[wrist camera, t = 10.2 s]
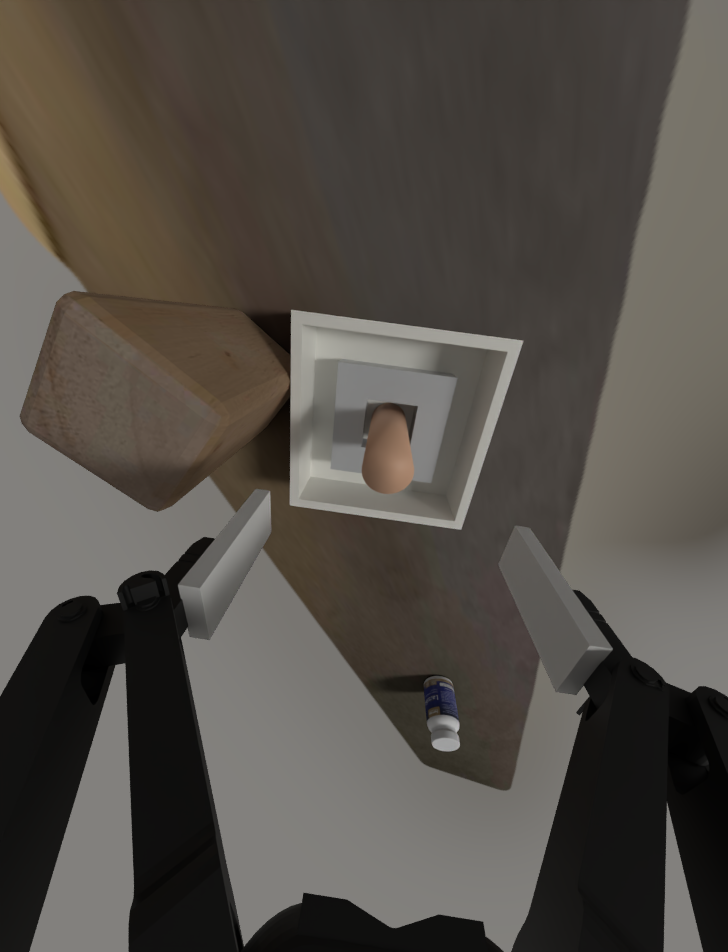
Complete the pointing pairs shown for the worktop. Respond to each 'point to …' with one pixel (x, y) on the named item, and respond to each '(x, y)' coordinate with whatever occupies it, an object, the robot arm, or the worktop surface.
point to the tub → (402, 383)
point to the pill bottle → (441, 713)
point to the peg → (388, 451)
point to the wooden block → (153, 390)
